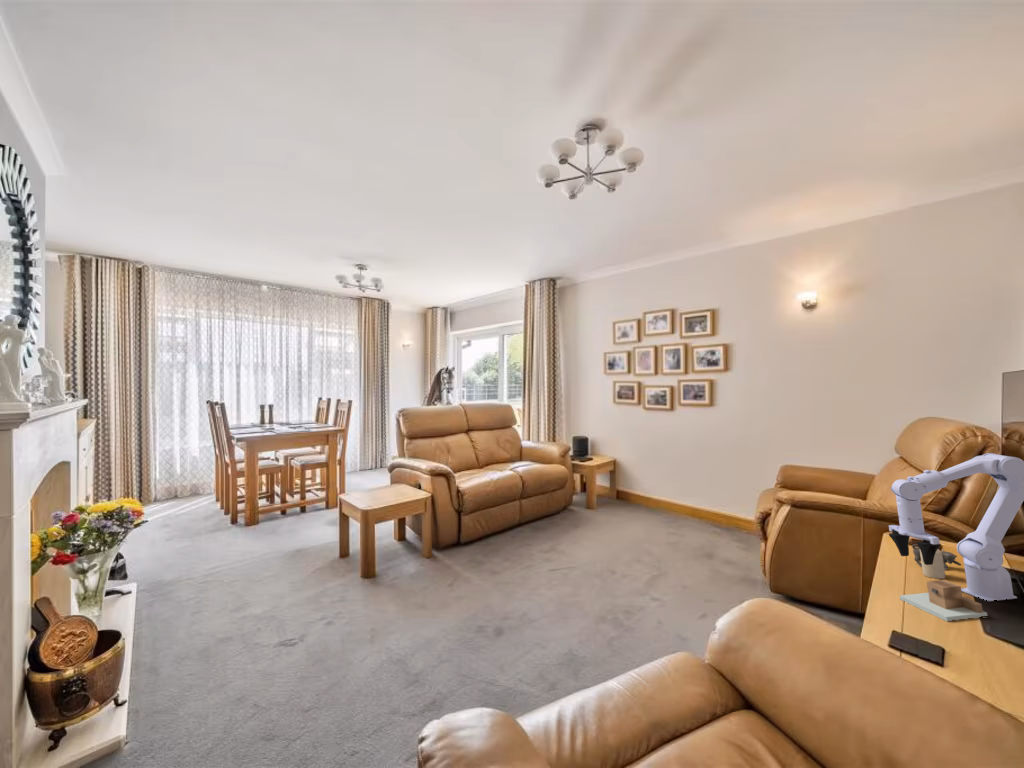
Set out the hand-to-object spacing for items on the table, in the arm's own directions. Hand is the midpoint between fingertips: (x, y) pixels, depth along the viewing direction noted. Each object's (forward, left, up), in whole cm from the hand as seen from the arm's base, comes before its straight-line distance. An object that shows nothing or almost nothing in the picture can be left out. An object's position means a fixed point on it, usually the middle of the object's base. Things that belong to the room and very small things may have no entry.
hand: (916, 559), depth 134 cm
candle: (-14, -9, -10) cm, 20 cm away
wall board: (+5, +10, -10) cm, 15 cm away
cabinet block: (+4, +11, -9) cm, 14 cm away
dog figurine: (-22, -15, -10) cm, 29 cm away
